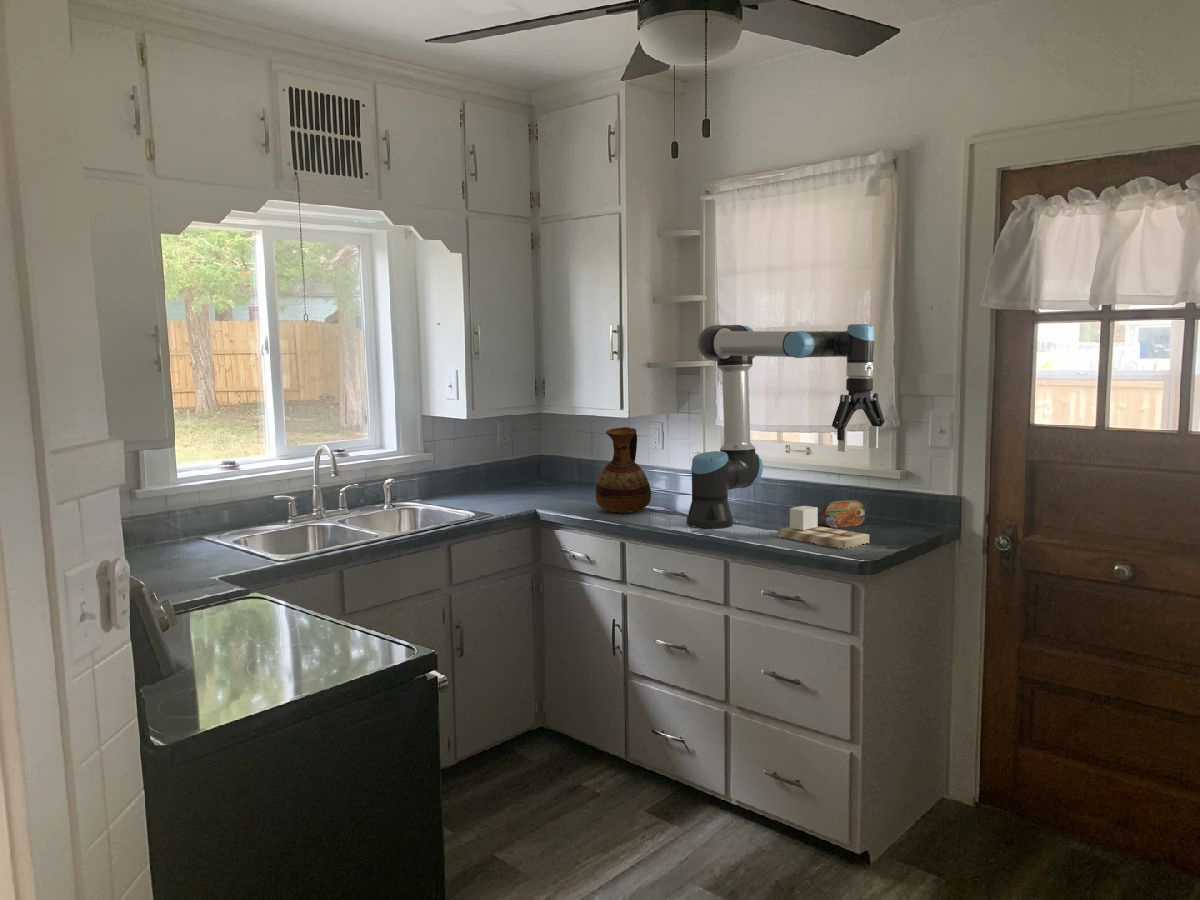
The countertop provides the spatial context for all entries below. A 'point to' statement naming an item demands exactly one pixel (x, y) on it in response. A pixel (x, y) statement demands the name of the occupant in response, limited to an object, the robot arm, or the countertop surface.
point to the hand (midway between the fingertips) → (858, 449)
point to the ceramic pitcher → (623, 476)
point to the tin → (844, 513)
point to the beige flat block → (825, 536)
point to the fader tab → (803, 517)
